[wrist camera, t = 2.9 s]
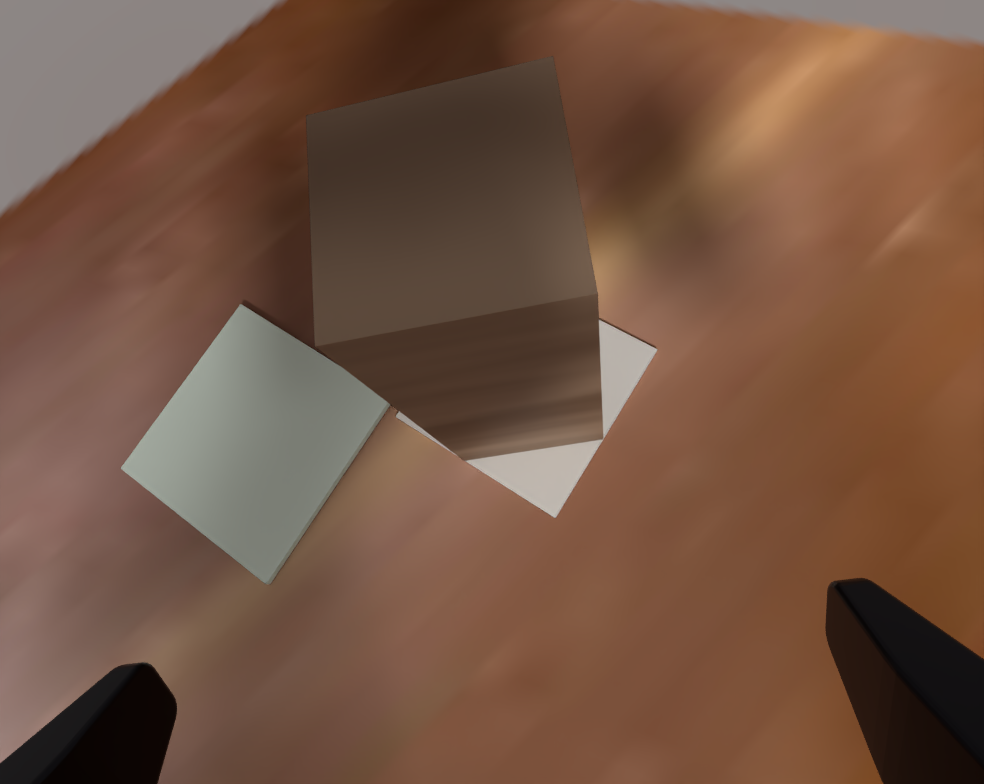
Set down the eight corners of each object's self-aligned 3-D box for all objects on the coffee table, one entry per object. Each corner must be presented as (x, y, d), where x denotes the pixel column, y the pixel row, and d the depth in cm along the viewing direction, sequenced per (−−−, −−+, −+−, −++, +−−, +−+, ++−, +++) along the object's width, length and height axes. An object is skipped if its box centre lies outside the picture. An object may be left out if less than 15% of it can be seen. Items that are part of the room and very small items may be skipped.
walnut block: (603, 439, 22) (597, 293, 10) (464, 461, 22) (314, 346, 11) (580, 308, 23) (553, 56, 12) (450, 332, 24) (305, 115, 12)
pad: (393, 399, 24) (391, 397, 23) (270, 584, 23) (265, 584, 22) (244, 307, 26) (240, 304, 26) (126, 469, 25) (120, 468, 25)
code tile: (657, 350, 22) (657, 349, 22) (555, 518, 21) (555, 517, 21) (496, 267, 24) (495, 266, 24) (396, 417, 23) (395, 416, 23)
